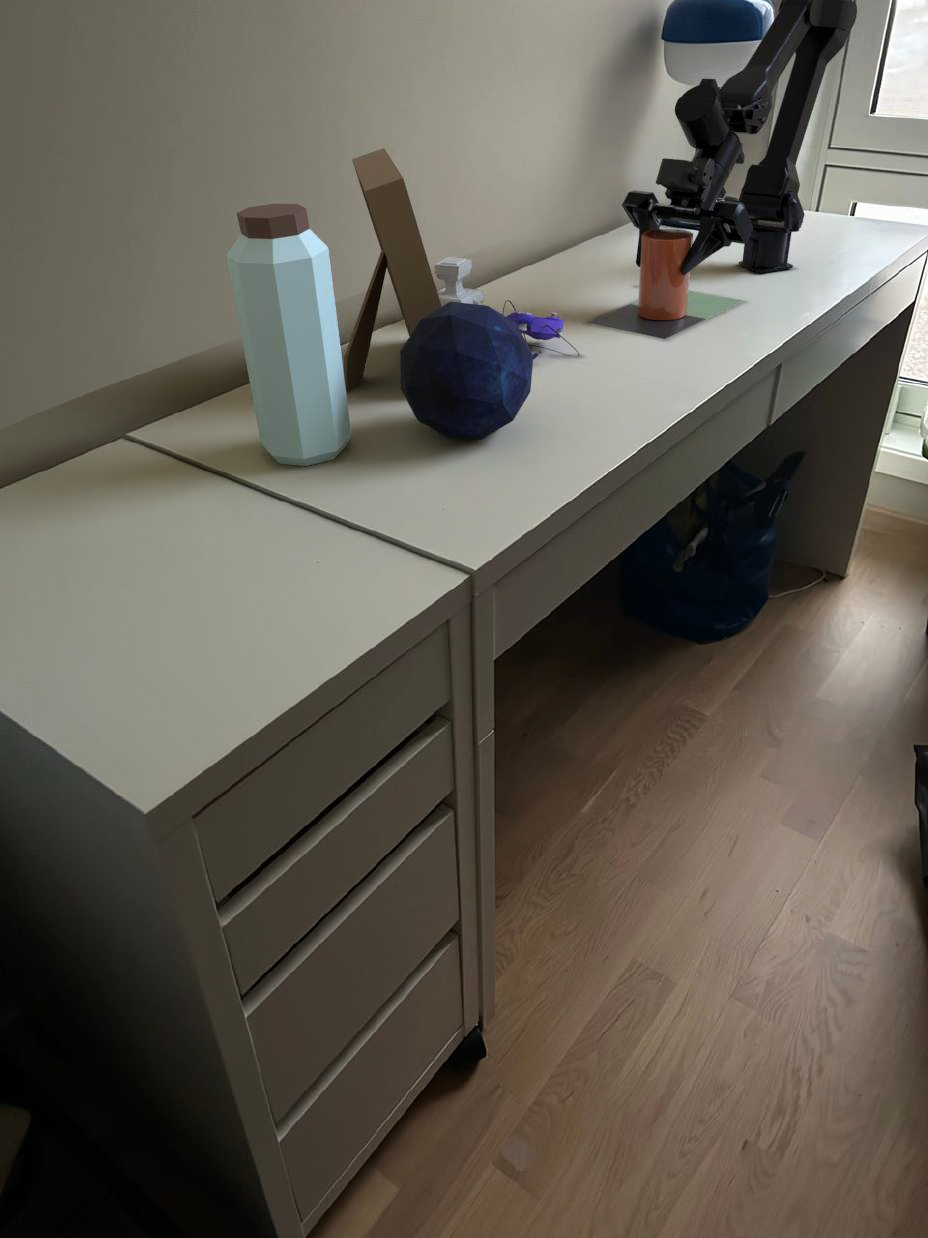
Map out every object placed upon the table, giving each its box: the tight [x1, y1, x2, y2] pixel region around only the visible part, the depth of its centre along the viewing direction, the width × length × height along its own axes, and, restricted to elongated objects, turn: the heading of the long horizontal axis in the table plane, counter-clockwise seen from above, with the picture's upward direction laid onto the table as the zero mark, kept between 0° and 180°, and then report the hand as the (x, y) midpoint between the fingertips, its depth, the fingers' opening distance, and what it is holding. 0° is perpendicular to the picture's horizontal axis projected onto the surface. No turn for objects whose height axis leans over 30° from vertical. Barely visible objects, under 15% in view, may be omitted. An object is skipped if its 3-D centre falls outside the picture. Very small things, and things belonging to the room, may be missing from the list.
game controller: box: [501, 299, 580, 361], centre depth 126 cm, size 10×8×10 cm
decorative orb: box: [399, 302, 534, 441], centre depth 103 cm, size 14×15×15 cm
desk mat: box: [588, 290, 743, 340], centre depth 139 cm, size 21×13×1 cm, turn 137°
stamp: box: [434, 256, 486, 306], centre depth 139 cm, size 9×7×8 cm
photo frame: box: [343, 147, 442, 391], centre depth 118 cm, size 15×22×25 cm
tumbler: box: [637, 228, 694, 320], centre depth 135 cm, size 7×7×11 cm
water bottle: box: [226, 203, 352, 467], centre depth 98 cm, size 10×10×25 cm
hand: (659, 269), depth 134 cm, fingers closed on tumbler, 7 cm apart
